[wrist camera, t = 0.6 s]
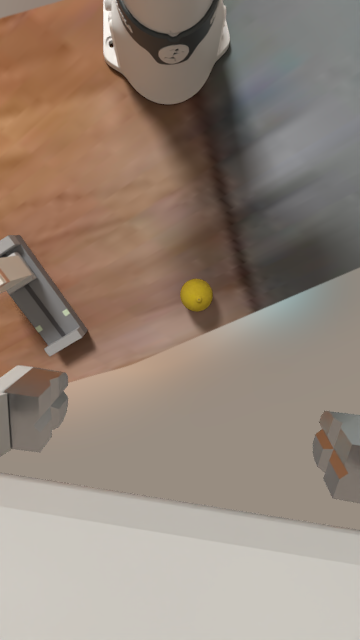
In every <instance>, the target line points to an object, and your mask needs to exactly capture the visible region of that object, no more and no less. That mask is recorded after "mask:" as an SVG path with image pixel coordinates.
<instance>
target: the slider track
mask: <svg viewBox="0 0 360 640" xmlns="http://www.w3.org/2000/svg"><path fill="white" fill-rule="evenodd" d="M14 252H18V253H19V254H20V256H21V257H22V258H23V260H24V261H25V262H26V264H27V265H28V266H29V268H30V269H31V271H32V272H33V273H34V275H35V276H36V277H37V278H36V279H34V280H33V281H31V282H30V283H28V284H26V285H25V286H23V287H21V288H20V289H18V290H17V291H15V292H13V293H11V294H9V293H8V294H9V295H10V296H11V297H12V299H13V300H14V301H15V303H16V304H17V305H18V307H19V308H20V309H21V310H22V312H23V313H24V314H25V316H26V317H27V318H28V319H29V321H30V322H31V323H32V325H33V326H34V327H35V329H36V330H37V331H38V332H39V334H40V335H41V336H42V338H43V339H44V340H45V342H46V343H47V344H48V346H47V347H46V348H45V349H44V350H45V351H46V352H47V354H48V355H49V356H51V355H53V354H55V353H56V352H58V351H60V350H62V349H63V348H65V347H67V346H68V345H70V344H72V343H73V342H75V341H77V340H79V339H80V338H82V337H83V336H84V334H85V333H86V332H87V331H88V330H87V328H86V327H85V326H84V324H83V323H82V321H81V320H80V319H79V317H78V316H77V314H76V313H75V312H74V310H73V309H72V307H71V306H70V305H69V303H68V302H67V300H66V299H65V298H64V296H63V295H62V293H61V292H60V291H59V289H58V288H57V286H56V285H55V284H54V282H53V281H52V279H51V278H50V277H49V275H48V274H47V272H46V271H45V270H44V268H43V267H42V265H41V264H40V263H39V261H38V260H37V258H36V257H35V256H34V254H33V253H32V251H31V250H30V249H29V247H28V246H27V245H26V243H25V242H24V240H23V239H22V238H21V236H20V235H8V236H7V237H5V238H3V239H2V240H0V258H3V257H8V256H9V255H11V254H12V253H14Z"/></svg>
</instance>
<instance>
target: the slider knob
mask: <svg viewBox="0 0 360 640" xmlns="http://www.w3.org/2000/svg"><path fill="white" fill-rule="evenodd" d="M36 278H37V277H36V276H35V275H34V273H33V272H32V271H31V269H30V268H29V266H28V265H27V264H26V262H25V261H24V260H23V258H22V257H21V256H20V254H19V253H18V252H14V253H12V254H11V255H9V256H8V257H3V258H0V293H2V292H5V291H7V292H8V293H9V294H11V293H13V292H15V291H17V290H18V289H20V288H21V287H23V286H25V285H26V284H28V283H30V282H31V281H33V280H34V279H36Z"/></svg>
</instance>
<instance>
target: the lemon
mask: <svg viewBox="0 0 360 640" xmlns="http://www.w3.org/2000/svg"><path fill="white" fill-rule="evenodd" d="M180 297H181V301H182V303H183V305H184V306H185V307H186V308H188V309H189V310H191V311H197V312H198V311H202V310H205V309H206V308H207V307H208V306H209V305H210V303H211V301H212V297H213V293H212V289H211V287H210V286H209V284H208V283H207V282H205V281H204V280H201V279H192V280H189V281H187V282H186V283H185V284H184V285H183V287H182V289H181V294H180Z"/></svg>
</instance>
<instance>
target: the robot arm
mask: <svg viewBox="0 0 360 640" xmlns="http://www.w3.org/2000/svg"><path fill="white" fill-rule="evenodd" d="M229 42H230V35H229V31H228V27H227V22H226V6H224V5H223V0H103V52H104V58H105V61H106V63H107V64H108V65H109V66H110V67H112V68H113V69H115V70H117V71H118V72H120V73H122V74H123V75H124V76H125V77H126V78H127V80H128V81H129V82H130V84H131V85H132V86H133V87H134V88H135V90H136V91H137V92H139V93H140V94H141V95H142V96H144V97H145V98H147V99H149V100H151V101H153V102H156V103H160V104H177V103H180V102H183V101H185V100H187V99H189V98H191V97H192V96H193V95H195V94H196V93H197V92H198V91H199V90H200V89H201V88H202V86H203V85H204V84H205V82H206V80H207V78H208V77H209V74H210V72H211V70H212V67H213V66H214V64H215V62H216V61H217V60H218V59H219V58H220V57H221V56H222V55H223V54H224V53H225V52H226V51H227V49H228V47H229ZM112 43H113V46H114V47H113V48H111V47H110V44H112ZM67 386H68V376H67V374H66V373H65V372H59V371H53V370H47V369H41V368H35V367H29V366H16V367H14V368H13V369H12V370H10V371H9V372H8V373H6V374H5V375H4V376H2V377H1V378H0V456H2V455H4V454H5V453H7V452H9V451H10V450H11V449H17V450H24V451H32V452H41V451H42V449H43V448H44V447H45V445H46V444H47V442H48V441H49V440H50V438H51V437H52V430H53V429H55V428H58V427H59V426H60V424H61V423H62V422H63V420H64V417H65V415H66V411H67V406H68V397H67V395H66V394H65V393H64V389H65V388H66V387H67ZM319 423H320V425H321V427H322V430H321V431H319V432H318V433H317V434H316V435H315V438H314V441H313V456H314V460H315V462H316V464H317V467H319V468H320V469H321V470H322V471H324V472H325V475H324V481H325V483H326V485H327V487H328V489H329V491H330V493H331V496H332V498H334V499H339V500H344V501H351V502H356V503H360V415H354V414H347V413H339V412H330V411H324V413H323V414H322V415H321V418H320V422H319ZM0 640H360V530H356V529H350V528H344V527H338V526H331V525H325V524H319V523H313V522H306V521H300V520H293V519H288V518H281V517H275V516H268V515H262V514H256V513H250V512H243V511H237V510H231V509H225V508H218V507H213V506H206V505H200V504H193V503H188V502H181V501H174V500H169V499H163V498H156V497H150V496H144V495H138V494H131V493H125V492H119V491H113V490H106V489H100V488H94V487H88V486H81V485H75V484H69V483H63V482H56V481H50V480H43V479H38V478H31V477H25V476H19V475H13V474H6V473H0Z"/></svg>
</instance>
